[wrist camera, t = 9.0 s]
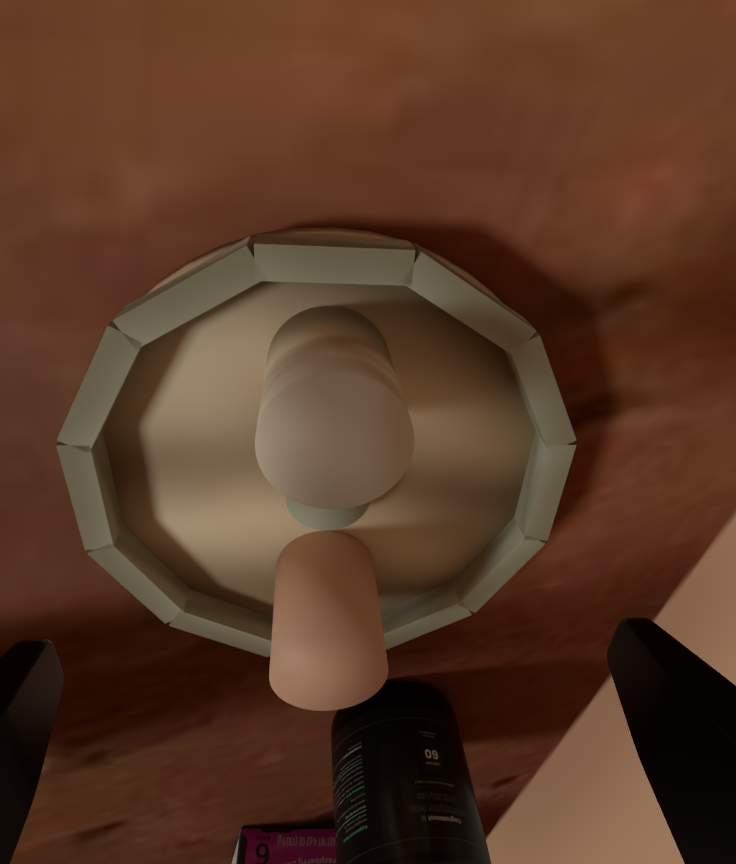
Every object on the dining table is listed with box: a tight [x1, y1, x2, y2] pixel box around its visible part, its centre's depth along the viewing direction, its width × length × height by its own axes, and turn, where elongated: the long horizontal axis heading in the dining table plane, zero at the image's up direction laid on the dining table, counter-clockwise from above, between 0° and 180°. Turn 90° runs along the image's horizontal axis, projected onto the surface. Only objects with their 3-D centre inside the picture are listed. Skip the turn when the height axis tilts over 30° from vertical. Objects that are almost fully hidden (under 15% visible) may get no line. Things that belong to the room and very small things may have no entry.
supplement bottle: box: [331, 682, 491, 864], centre depth 25 cm, size 7×7×12 cm
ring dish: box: [56, 227, 576, 657], centre depth 20 cm, size 17×17×2 cm
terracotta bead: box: [269, 530, 388, 711], centre depth 21 cm, size 4×4×5 cm
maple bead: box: [255, 306, 415, 509], centre depth 16 cm, size 4×4×5 cm
